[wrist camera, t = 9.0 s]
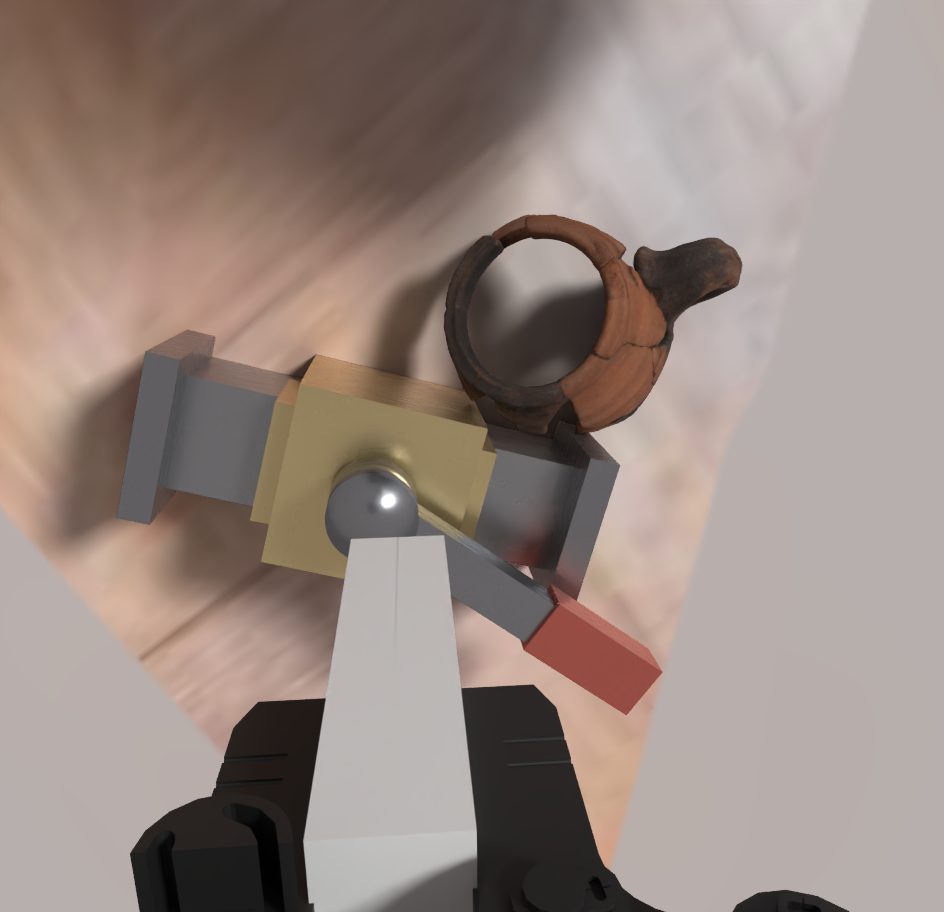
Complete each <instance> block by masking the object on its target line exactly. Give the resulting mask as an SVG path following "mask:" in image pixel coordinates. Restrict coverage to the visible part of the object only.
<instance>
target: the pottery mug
mask: <svg viewBox="0 0 944 912" xmlns="http://www.w3.org/2000/svg"><path fill="white" fill-rule="evenodd" d="M530 237H531V238H533V239H553V240H559V241H562V242H565V243H568V244H570V245H572V246H574V247H576V248H577V249H579V250H580V251H581V252H583V253H584V254H585V255H586V256H587V257H588V258H589V259H590V260H591V262H592V263H593V265H594V266H595V268H596V269H597V270H598V271H599V273H600V276H601V278H602V281H603V285H604V289H605V298H606V311H605V319H604V324H603V327H602V330H601V334H600V336H599V338H598V340H597V342H596V344H595V346H594V347H593V349H592V351H591V352H590V354H589V355H588V356H587V357H586V358H585V360H584V361H583V362H582V363H581V364H580V365H579V366H578V367H577V368H576V369H574V370H573V371H572V372H570V373H569V374H567V375H566V376H564V377H562V378H560V379H559V380H558V381H557V382H554V383H551V384H547V385H543V386H537V387H522V386H516V385H512V384H508V383H506V382H503V381H501V380H499V379H497V378H495V377H494V376H492V375H490V374H489V373H488V372H487V371H486V369H485V368H484V367H483V366H482V365H481V363H480V362H479V361H478V359H477V357H476V355H475V354H474V352H473V349H472V347H471V343H470V340H469V336H468V329H467V314H468V308H469V304H470V300H471V296H472V293H473V291H474V288H475V285H476V283H477V281H478V280H479V278H480V276H481V275H482V273H483V272H484V271H485V269H486V268H487V267H488V266H489V265H490V263H491V262H492V261H493V260H494V259H495V258H496V257H497V256H498V255H499V254H501V253H502V251H503V250H504V248H506V247H508V246H510V245H512V244H514V243H516V242H518V241H520V240H523V239H526V238H530ZM625 251H626V247H625V246H624V245H623V244H622V243H621V242H619V241H617V240H616V239H614V238H613V237H612V236H610V235H608V234H606V233H604V232H602V231H600V230H599V229H597V228H595V227H593V226H591V225H588V224H585V223H582V222H579V221H575V220H571V219H568V218H565V217H561V216H557V215H526V216H522V217H520V218H518V219H516V220H513V221H511V222H509V223H507V224H506V225H504V226H502V227H501V228H499V229H498V230H497V231H495V232H494V233H493V234H492V236H483V237H481V238H480V239H479V240H478V241H477V242H476V243H475V244H474V245H473V247H471V249H470V250H469V251H468V252H467V254H466V255H465V257H464V259H463V260H462V262H461V263H460V265H459V266H458V268H457V269H456V271H455V273H454V275H453V277H452V280H451V282H450V284H449V288H448V293H447V298H446V312H445V314H444V331H445V335H446V341H447V346H448V350H449V353H450V356H451V358H452V361H453V363H454V365H455V368H456V370H457V373H458V376H459V379H460V381H461V383H462V386H463V388H464V390H465V392H466V394H467V395H468V397H469V399H470V400H471V401H473V400H475V399H476V398H480V397H482V396H485V395H487V396H489V397H490V398H491V399H493V400H494V403H495V406H496V408H497V410H499V412H500V413H501V415H502V416H503V417H504V418H506V419H507V420H509V421H511V422H513V423H515V425H516V426H517V428H518V429H519V430H520V431H522V432H526V433H532V434H545V433H546V432H547V431H548V425H547V424H548V423H549V422H550V421H551V420H552V419H553V417H554V415H555V413H556V412H557V411H558V410H559V409H560V408H561V406H562V405H563V404H564V403H565V402H566V401H567V400H569V401H570V403H571V405H572V408H573V410H574V412H575V413H576V415H577V418H578V420H579V422H578V423H577V424H576V426H575V429H576V431H577V432H578V433H588V432H595V431H598V430H601V429H603V428H606V427H609V426H612V425H614V424H617V423H619V422H621V421H624V420H625V419H627V418H628V417H630V416H631V415H632V414H633V413H634V412H635V411H636V410H637V409H638V407H639V406H640V405H641V404H642V403H643V401H644V400H645V399H646V397H647V396H648V394H649V393H650V391H651V390H652V388H653V386H654V385H655V383H656V381H657V379H658V377H659V375H660V373H661V371H662V369H663V367H664V365H665V362H666V360H667V357H668V354H669V351H670V347H671V343H672V341H673V337H674V335H673V327H674V322H675V321H676V319H677V318H678V317H679V316H680V315H681V314H682V313H683V312H684V311H685V310H686V309H688V308H689V307H691V306H693V305H695V304H698V303H700V302H703V301H706V300H709V299H711V298H714V297H716V296H718V295H720V294H723V293H725V292H727V291H729V290H731V289H733V288H735V287H736V286H737V285H738V283H739V279H740V274H741V270H742V269H741V268H742V262H741V259H740V257H739V255H738V253H737V251H736V250H735V249H734V248H733V247H731V246H729V245H727V244H726V243H724V242H723V241H722V240H721V239H718V238H705V239H701V240H697V241H694V242H690V243H686V244H682V245H680V246H677V247H675V248H672V249H669V250H665V251H654V250H651V249H649V248H647V247H644V246H642V247H640V248H639V249H638V250H637V252H636V253H635V255H634V262H633V265H634V269H635V270H634V269H633V267H631V266H628V265H627V264H626V263H625V262H624V261H623V260H622V259H621V258H622V256H623V254H624V253H625Z"/></svg>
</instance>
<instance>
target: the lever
mask: <svg viewBox="0 0 944 912" xmlns="http://www.w3.org/2000/svg"><path fill="white" fill-rule="evenodd" d="M325 527H326V531H327V535H328V537H329V539H330V541H331V542H332V544H333V545H334V547H335V548H336V549H337V550H338V551H339V552H340V553H341V554H343V555H344V556H346V557H347V558H348V555H349V549H350V542H351V539H365V538H389V537H414V536H439V535H444V538H445V548H446V557H447V566H448V575H449V584H450V593H451V596H453V597H455V598H456V599H458V600H459V601H461V602H462V603H464V604H465V605H467V606H469V607H470V608H472V609H473V610H475V611H476V612H478V613H480V614H481V615H483V616H484V617H486V618H487V619H489V620H491V621H492V622H494V623H495V624H497V625H498V626H500V627H501V628H503V629H505V630H506V631H508V632H509V633H511V634H512V635H514V636H516V637H517V638H519V639H520V640H521V643H522V646H523V649H524V650H525V651H526V652H528V653H529V654H531V655H532V656H534V657H536V658H537V659H539V660H540V661H542V662H543V663H545V664H547V665H548V666H550V667H551V668H553V669H554V670H556V671H558V672H559V673H561V674H562V675H564V676H566V677H567V678H569V679H570V680H572V681H573V682H575V683H577V684H578V685H580V686H581V687H583V688H584V689H586V690H588V691H589V692H591V693H592V694H594V695H595V696H597V697H599V698H600V699H602V700H603V701H605V702H606V703H608V704H610V705H611V706H613V707H614V708H616V709H617V710H619V711H621V712H622V713H624V714H625V715H627V714H628V713H629V711H630V710H631V709H632V708H633V707H634V705H635V704H636V703H637V702H638V701H639V700H640V698H641V697H642V696H643V695H644V694H645V692H646V691H647V690H648V689H649V688H650V686H651V685H652V684H653V683H654V682H655V680H656V679H657V678H658V677H659V676H660V675H661V673H662V670H661V669H660V667H659V666H658V664H657V662H656V661H655V659H654V657H653V656H652V654H651V652H650V651H649V649H648V648H646V647H645V646H643V645H642V644H640V643H639V642H637V641H636V640H634V639H633V638H631V637H630V636H628V635H627V634H625V633H624V632H622V631H621V630H619V629H618V628H616V627H615V626H613V625H612V624H610V623H609V622H607V621H606V620H604V619H603V618H601V617H600V616H598V615H597V614H595V613H594V612H592V611H591V610H589V609H588V608H586V607H585V606H583V605H582V604H580V603H579V602H577V601H575V600H574V599H572V598H571V597H569V596H568V595H566V594H565V593H563V592H562V591H560V590H559V589H557V588H556V587H554V586H553V585H551V584H550V586H549V587H548V588H547V589H546V588H545V587H543V586H541V585H540V584H538V583H537V582H535V581H534V580H532V579H531V578H529V577H528V576H526V575H525V574H523V573H522V572H520V571H519V570H517V569H516V568H514V567H513V566H511V565H510V564H508V563H507V562H505V561H504V560H502V559H501V558H499V557H498V556H496V555H495V554H493V553H492V552H490V551H489V550H487V549H486V548H484V547H483V546H481V545H480V544H478V543H477V542H475V541H474V540H472V539H471V538H469V537H468V536H466V535H465V534H463V533H462V532H460V531H458V530H457V529H455V528H454V527H452V526H451V525H449V524H448V523H446V522H445V521H443V520H442V519H440V518H439V517H437V516H436V515H434V514H433V513H431V512H430V511H428V510H427V509H425V508H424V507H422V506H421V505H419V504H418V503H417V495H416V489H415V485H414V483H413V480H412V479H411V477H410V475H409V474H408V473H407V471H406V470H405V469H404V468H402V467H401V466H400V465H399V464H397V463H395V462H394V461H391V460H389V459H385V458H381V457H365V458H361V459H358V460H355V461H353V462H351V463H349V464H348V465H346V466H345V467H344V468H343V469H342V470H341V471H340V472H339V473H338V474H337V476H336V477H335V479H334V481H333V483H332V486H331V489H330V494H329V498H328V503H327V508H326V513H325Z"/></svg>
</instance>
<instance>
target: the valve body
mask: <svg viewBox="0 0 944 912" xmlns="http://www.w3.org/2000/svg"><path fill="white" fill-rule="evenodd" d="M214 342H215V337H214V336H210V335H206V334H202V333H198V332H194V331H190V330H186V331H184V332H182V333H180V334H178V335H176V336H174V337H172V338H170V339H168V340H167V341H165V342H163V343H161V344H159V345H157V346H155V347H153V348H151V349H149V350H147V351H145V357H144V363H143V368H142V374H141V380H140V386H139V392H138V397H137V403H136V409H135V415H134V420H133V426H132V432H131V438H130V443H129V449H128V455H127V461H126V467H125V472H124V478H123V484H122V490H121V495H120V501H119V507H118V513H117V518H119V519H124V520H129V521H134V522H139V523H143V524H148V525H150V524H151V522H152V521H153V520H154V519H155V517H156V516H157V515H158V514H159V512H160V511H161V510H162V509H163V507H164V506H165V505H166V504H167V502H168V501H169V500H170V499H171V497H172V496H173V495H174V493H175V492H176V491H177V490H178V491H183V492H187V493H192V494H197V495H201V496H206V497H210V498H215V499H220V500H224V501H229V502H234V503H238V504H243V505H248V506H252V507H253V508H252V513H251V517H250V521H254V522H259V523H264V524H268V525H269V527H268V531H267V536H266V540H265V545H264V550H263V554H262V559H261V562H264V563H269V564H274V565H278V566H283V567H288V568H293V569H298V570H303V571H308V572H313V573H317V574H322V575H327V576H332V577H337V578H342V579H345V574H346V568H347V561H348V558H347V557H346V556H344V555H343V554H341V553H340V552H339V551H338V550H337V549H336V548H335V547H334V545H333V544H332V542H331V541H330V539H329V537H328V535H327V531H326V527H325V513H326V508H327V503H328V498H329V494H330V489H331V486H332V483H333V481H334V479H335V477H336V476H337V474H338V473H339V472H340V471H341V470H342V469H343V468H344V467H345V466H346V465H348V464H349V463H351V462H353V461H355V460H358V459H361V458H365V457H381V458H385V459H389V460H391V461H394V462H395V463H397V464H399V465H400V466H401V467H402V468H404V469H405V470H406V471H407V473H408V474H409V475H410V477H411V479H412V480H413V483H414V485H415V489H416V495H417V503H418V504H419V505H421V506H422V507H424V508H425V509H427V510H428V511H430V512H431V513H433V514H434V515H436V516H437V517H439V518H440V519H442V520H443V521H445V522H446V523H448V524H449V525H451V526H452V527H454V528H455V529H457V530H458V531H460V532H462V533H463V534H465V535H466V536H468V537H469V538H471V539H472V540H474V541H475V542H477V543H478V544H480V545H481V546H483V547H484V548H486V549H487V550H489V551H490V552H492V553H493V554H495V555H496V556H498V557H499V558H501V559H502V560H504V561H508V562H512V563H517V564H522V565H526V566H528V567H529V570H530V572H531V574H532V577H533V579H534V581H535V582H537V583H538V584H540V585H541V586H543V587H545V588H546V589H547V588H548V587H549V586H550V584H551V585H553V586H554V587H556V588H557V589H559V590H560V591H562V592H563V593H565V594H566V595H568V596H569V597H571V598H572V599H574V600H575V601H577V598H578V595H579V592H580V589H581V586H582V583H583V579H584V576H585V573H586V570H587V567H588V564H589V561H590V558H591V554H592V551H593V548H594V545H595V542H596V539H597V536H598V533H599V529H600V526H601V523H602V520H603V517H604V514H605V511H606V508H607V505H608V501H609V498H610V495H611V492H612V489H613V486H614V483H615V480H616V476H617V473H618V470H619V467H620V465H619V464H618V463H617V462H616V461H615V460H614V458H613V457H612V456H611V455H610V454H609V453H608V452H607V451H606V450H605V449H604V448H603V447H602V446H601V445H600V444H599V443H598V442H597V441H596V440H595V439H594V438H593V437H592V436H591V435H590V434H589V433H578V432H577V431H576V429H575V426H576V425H573V424H569V423H565V422H561V421H558V425H557V428H556V431H555V435H554V438H553V439H549V438H545V437H541V436H537V435H532V434H528V433H524V432H520V431H516V430H512V429H508V428H503V427H499V426H495V425H491V424H487V423H485V422H484V420H483V418H482V416H481V413H480V411H479V409H478V407H477V405H476V403H475V401H474V400H473V401H471V400H470V399H469V397H468V395H467V394H466V392H465V391H462V390H458V389H454V388H450V387H446V386H442V385H438V384H434V383H430V382H425V381H421V380H417V379H413V378H409V377H405V376H401V375H397V374H393V373H389V372H385V371H381V370H377V369H373V368H369V367H365V366H361V365H357V364H353V363H349V362H345V361H340V360H336V359H332V358H328V357H324V356H320V355H316V356H315V357H314V359H313V361H312V363H311V365H310V366H309V368H308V370H307V372H306V374H305V375H304V377H303V379H301V378H297V377H292V376H288V375H284V374H280V373H276V372H272V371H268V370H263V369H259V368H255V367H251V366H247V365H243V364H239V363H234V362H230V361H226V360H222V359H218V358H214V357H212V352H213V347H214Z"/></svg>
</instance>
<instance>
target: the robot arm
mask: <svg viewBox="0 0 944 912" xmlns="http://www.w3.org/2000/svg"><path fill="white" fill-rule="evenodd" d="M130 856H131V862H132V868H133V874H134V880H135V886H136V892H137V898H138V904H139V910H140V912H664V911H661V910H658V909H655V908H653V907H651V906H649V905H647V904H645V903H643V902H641V901H640V900H638V899H636V898H634V897H633V896H632V895H631V894H629V893H628V892H627V891H625V890H624V889H623V888H622V887H621V885H620V883H619V881H618V879H617V878H616V876H615V874H613V873H612V872H611V871H610V870H608V869H607V868H606V867H605V866H604V864H603V862H602V860H601V858H600V856H599V853H598V850H597V847H596V843H595V840H594V836H593V833H592V829H591V826H590V822H589V819H588V815H587V812H586V809H585V805H584V802H583V798H582V795H581V791H580V788H579V784H578V781H577V778H576V774H575V771H574V767H573V764H571V757H570V753H569V750H568V747H567V743H566V740H564V733H563V729H562V726H561V722H560V719H559V716H558V712H557V709H556V707H555V706H554V705H553V704H552V703H551V702H550V701H549V700H548V699H547V698H546V697H545V696H544V695H543V694H542V693H541V692H540V691H539V690H538V689H537V688H536V687H535V686H534V685H516V686H497V687H478V688H461V683H460V674H459V665H458V656H457V647H456V638H455V629H454V620H453V611H452V602H451V593H450V584H449V575H448V566H447V557H446V548H445V538H444V535H439V536H414V537H389V538H365V539H351V542H350V549H349V555H348V561H347V568H346V574H345V580H344V587H343V593H342V599H341V606H340V612H339V618H338V625H337V631H336V637H335V644H334V650H333V657H332V663H331V669H330V676H329V682H328V688H327V695H326V698H323V699H305V700H286V701H267V702H258V703H257V704H256V705H255V706H254V707H253V708H252V709H251V710H250V711H249V712H248V713H247V714H246V715H245V716H244V717H243V718H242V719H241V721H240V722H239V723H238V724H237V725H236V726H235V727H234V728H233V731H232V734H231V737H230V740H229V744H228V747H227V750H226V753H225V756H224V763H222V765H221V768H220V772H219V775H218V778H217V781H216V788H214V790H213V793H212V796H211V797H206V798H201V799H197V800H195V801H192V802H190V803H188V804H186V805H184V806H181V807H179V808H177V809H174V810H172V811H170V812H169V813H167V814H166V815H165V816H163V817H162V818H161V819H160V820H158V821H157V822H156V823H154V824H153V825H152V826H151V827H150V828H148V829H147V830H146V831H145V832H144V833H143V835H142V837H141V838H140V839H139V841H138V843H137V844H136V845H135V847H134V848H133V850H132V851H131V853H130ZM733 912H849V911H847V910H845V909H843V908H841V907H839V906H837V905H835V904H832V903H831V902H829V901H826V900H824V899H822V898H820V897H818V896H814V895H809V894H804V893H799V892H794V891H789V890H780V891H771V892H761V893H757V894H755V895H753V896H752V897H750V898H748V899H746V900H744V901H743V902H741V903H739V904H737V905H736V907H735V909H734V910H733Z"/></svg>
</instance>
